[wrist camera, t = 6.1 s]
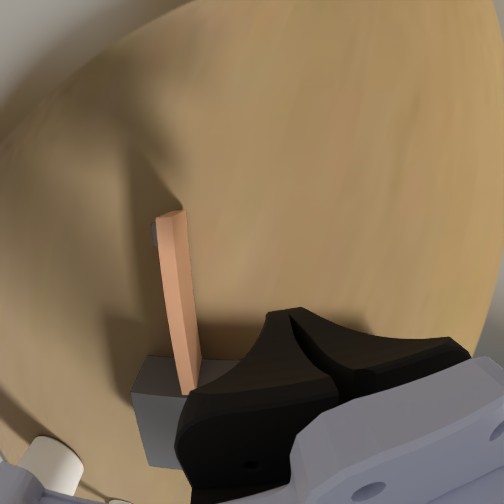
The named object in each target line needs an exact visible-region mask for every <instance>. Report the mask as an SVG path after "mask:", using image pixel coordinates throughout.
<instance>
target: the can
mask: <svg viewBox="0 0 504 504" xmlns="http://www.w3.org/2000/svg"><path fill="white" fill-rule="evenodd" d="M17 466H18V467H21V468H24V469H26V470H28V471H29V472H31V473H32V474H34V475H35V476H36V477H37V478H38V480H39V481H40V482H41V483H42V485H43V486H44V488H45V489H48V490H52V491H55V492H59V493H63V494H66V495H70V496H73V495H74V493H75V490H76V488H77V485H78V483H79V481H80V478H81V476H82V473H83V465H82V462H81V460H80V458H79V457H78V456H77V455H76V453H75V452H74V451H72V450H71V449H70V448H69V447H68V446H66V445H65V444H63V443H62V442H60V441H58V440H56V439H54V438H51V437H48V436H38V437H36V438H35V439H34V440H33V442H32V443H31V445H30V446H29V448H28V449H27V451H26V452H25V454H24V456H23V457H22V459H21V460H20V462H19V464H18V465H17Z"/></svg>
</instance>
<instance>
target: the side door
mask: <svg viewBox="0 0 504 504" xmlns="http://www.w3.org/2000/svg"><path fill="white" fill-rule="evenodd" d="M155 219H156V222H154V223H152V224H151V227H152V237H153V247H158V250H159V259H160V267H161V275H162V283H163V290H164V297H165V304H166V311H167V317H168V323H169V329H170V335H171V341H172V346H173V352H174V357H175V362H176V367H177V372H178V377H179V382H180V387H181V392H182V395H188V394H189V392H190V391H191V390H194V389H196V388H197V385H198V378H199V372H200V366H201V360H202V356H201V349H200V341H199V334H198V326H197V319H196V311H195V302H194V294H193V285H192V275H191V265H190V255H189V244H188V233H187V220H186V210H175V211H171V212H168V213H166V214H164V215H161V216H159V217H157V218H155Z"/></svg>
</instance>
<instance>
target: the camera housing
mask: <svg viewBox="0 0 504 504" xmlns="http://www.w3.org/2000/svg"><path fill="white" fill-rule="evenodd" d="M240 361H241V360H209V359H202V360H201V366H200V372H199V378H198V385H197V388H198V387H201V386H203V385H205V384H207V383H209V382H212V381H213V380H215V379H217V378H219V377H220V376H222V375H224V374H225V373H227V372H228V371H229V370H231V369H232V368H233V367H235V366H236V365H237V364H238V363H239V362H240ZM130 393H131V398H132V402H133V407H134V411H135V415H136V420H137V424H138V428H139V432H140V435H141V439H142V443H143V447H144V450H145V454H146V457H147V460H148V464H149V466H153V467H160V468H169V469H178V470H183V469H182V467H181V465H180V463H179V461H178V459H177V457H176V454H175V450H174V443H175V437H176V431H177V425H178V421H179V417H180V414H181V411H182V409H183V406H184V404H185V402H186V399H187V397H188V395H182V392H181V387H180V382H179V377H178V372H177V367H176V362H175V358H173V357H160V356H149V355H147V357H146V359H145V361H144V364H143V366H142V368H141V370H140V372H139V374H138V377H137V379H136V381H135V383H134V385H133V388H132V390H131V392H130Z"/></svg>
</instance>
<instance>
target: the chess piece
mask: <svg viewBox="0 0 504 504" xmlns="http://www.w3.org/2000/svg"><path fill="white" fill-rule="evenodd" d="M109 504H132V503H129V502H126V501H121V500H111V501H110V502H109Z"/></svg>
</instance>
